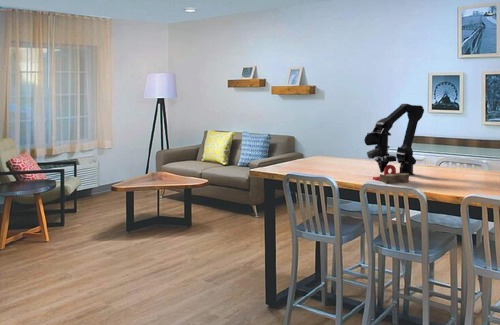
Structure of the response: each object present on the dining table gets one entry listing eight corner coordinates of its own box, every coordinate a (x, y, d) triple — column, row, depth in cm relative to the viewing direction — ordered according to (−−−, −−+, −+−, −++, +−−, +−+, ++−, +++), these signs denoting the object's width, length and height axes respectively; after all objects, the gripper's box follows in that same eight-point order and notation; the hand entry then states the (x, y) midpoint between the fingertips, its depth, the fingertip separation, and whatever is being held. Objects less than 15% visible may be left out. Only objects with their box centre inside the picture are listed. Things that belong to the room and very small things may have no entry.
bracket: (390, 177, 268) (391, 163, 267) (395, 178, 264) (396, 164, 262) (371, 179, 264) (372, 164, 263) (376, 180, 260) (376, 166, 259)
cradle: (399, 179, 262) (399, 170, 261) (408, 182, 254) (409, 173, 253) (378, 181, 258) (378, 172, 257) (387, 184, 250) (387, 175, 249)
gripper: (360, 143, 270) (360, 170, 273) (378, 147, 253) (378, 176, 255) (378, 142, 273) (377, 169, 276) (397, 145, 256) (396, 174, 258)
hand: (381, 172), depth 266 cm, fingers closed
